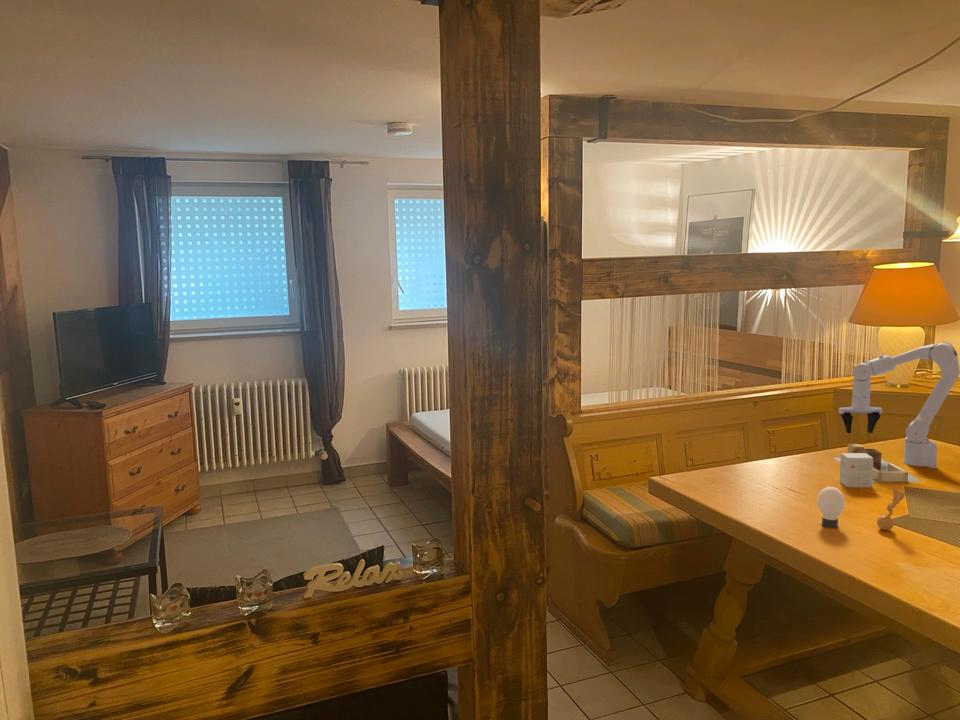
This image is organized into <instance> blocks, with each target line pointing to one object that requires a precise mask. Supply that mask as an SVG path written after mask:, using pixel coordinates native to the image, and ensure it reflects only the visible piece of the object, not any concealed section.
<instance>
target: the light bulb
mask: <svg viewBox="0 0 960 720" xmlns="http://www.w3.org/2000/svg"><path fill="white" fill-rule="evenodd" d="M845 501H846V500H845V497H844V494H843V493H842V491H840V489H838V488H837V487H835V486H827V487H824V488H822V489H821V491H820V492H819V494H818V496H817V506H818V509H819V512H821V514H822V517H821V526H823V527H825V528H826V527H827V528H838V526H839V525H838V524H839V516H840V515H841V514H842V513H843V511H844V509H845Z"/></svg>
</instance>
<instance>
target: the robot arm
mask: <svg viewBox="0 0 960 720" xmlns="http://www.w3.org/2000/svg"><path fill="white" fill-rule="evenodd" d="M920 359H922V360H927V361H930V360H931V359H932V362H934V363H935V364H936V365H937V366H938V367H939V369H940V371H941V373H942V374H941V376H940V377H939V378H938V380H937V383H936V384H935V386H934V387H933V389H932V391H931V393H930V394H929V397H927V400H926V401H925V402H924V405H923V406H922V408H921V409H920V411H919V413H918V414H917V417H916V418H915V419H914V420H912V421H910V423H909V424H908V426H907V428H906V429H905V436H906V437H905V438H904V450H903V464H905V465H908V466H911V467H912V466H913V467H928V468H929V469H938V466H937V464H938V463H937V461H938V446H937V444H936V442H935V441H933V440H930V439H929V438H928V437H927V436H928V434H929V432H930V425H931V424H932V421H933V420H934V418H935V417H936V415H937V413H938V411H939V409H940V408H941V406H942V405H943V403H944V402H945V400H946V398H947V396H948V395H949V393H950V391H951V390H952V388H953V387H954V384H955V382H957V379H958V378H959V376H960V365H959V364H960V363H959V357H958V351H957V350H956V349H955V347H954V346H953V345H952V344H951V343H949V342H947V341H940V342H938V343H932V344H928V345H927V344H926V345H924V346H920V347H917V348H913V349H912V350H909V351H905V352H903V353H900V354H897V355H895V356H890V355H889V354H888V355H887V354H886V355H884V354H879V356H878V357H877V358H873V359H870V360H869V359H866V360H864V362H859V363H858V364H857V365H855V366H854V367H853V369H852V377H853V382H852V392H851V393H852V396H851V406H847V407H839V408H838V413H839V415H840V416H841V419H842V421H843V423H844V427H845V432H846V433H847V434H852V424H853V423H852V422H853V419H854V416H853V415H852V414H867V432H868V433H869V434H873V432H874V429H875V427H876V424H877V423H878V421H879V419H881V414H883V408H882V407H876V406H875V407H874V406H871V392H872V391H871V389H872V384H871V380H872V379H871V376H872V377H875V376H878V375H883V374H885V373H888V372H892V371H894V370H895V368H896V367H897V366H898V365H902V364H904V363H905V364H906V363H909V362H912V361H916V360H920Z"/></svg>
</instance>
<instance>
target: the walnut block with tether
mask: <svg viewBox="0 0 960 720" xmlns="http://www.w3.org/2000/svg"><path fill="white" fill-rule="evenodd" d="M846 448H847V450H846V451H847V452H846V453H866V454H868V455H869V456H871V457H873V467H874V468H875V469H877V470H881V459H882V452H881V451H879V450H877V449H875V448H865V446H863V445H861V444H860V443H850V444H849V443H847V447H846Z"/></svg>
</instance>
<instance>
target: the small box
mask: <svg viewBox="0 0 960 720" xmlns="http://www.w3.org/2000/svg"><path fill="white" fill-rule="evenodd" d="M840 458H841V463H840V462H839V463H840V464H839V465H840V466H839V467H840V468H839V482H840V484H842V485H843V486H844V487H846V488H873V482H872V477H873V457H871V456H869V455H868V454H866V453H847V452H841V453H840Z"/></svg>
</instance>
